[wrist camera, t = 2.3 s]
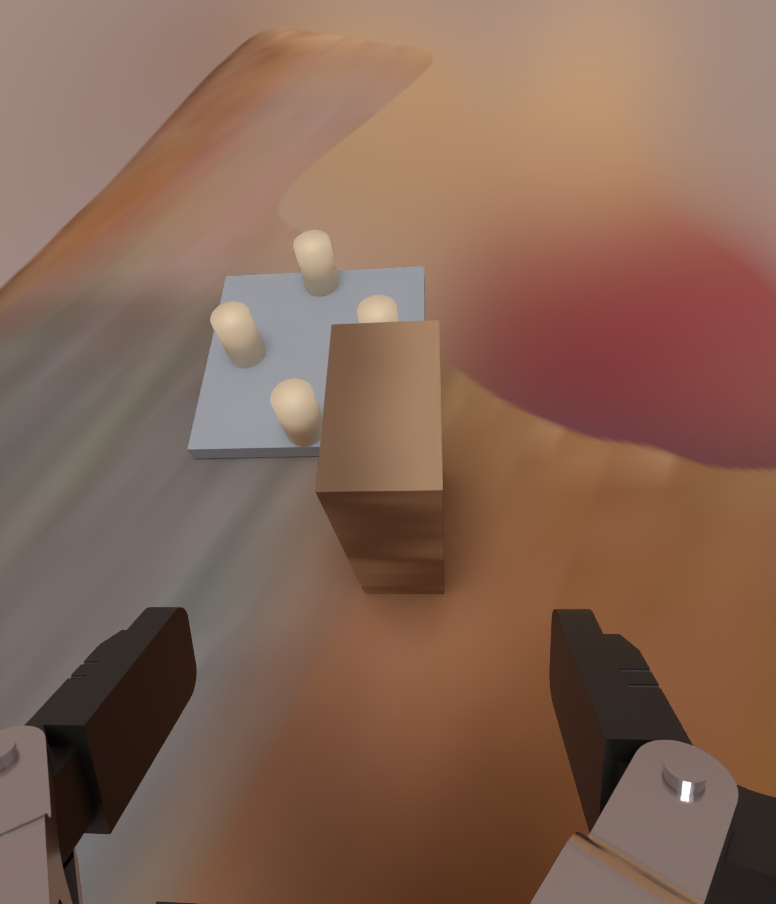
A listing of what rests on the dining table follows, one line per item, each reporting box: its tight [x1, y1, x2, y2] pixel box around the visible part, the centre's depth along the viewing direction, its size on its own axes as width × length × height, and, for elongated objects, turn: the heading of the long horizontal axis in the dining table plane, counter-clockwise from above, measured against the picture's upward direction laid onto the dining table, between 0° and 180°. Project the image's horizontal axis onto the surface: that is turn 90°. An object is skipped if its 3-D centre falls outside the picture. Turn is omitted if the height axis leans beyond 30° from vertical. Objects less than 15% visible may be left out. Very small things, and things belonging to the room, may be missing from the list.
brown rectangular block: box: [316, 320, 444, 594], centre depth 22 cm, size 4×6×11 cm, turn 179°
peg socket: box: [188, 230, 425, 459], centre depth 30 cm, size 12×12×4 cm
